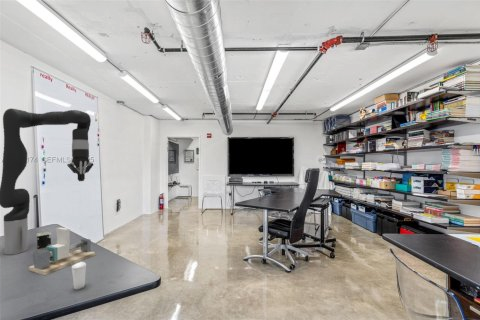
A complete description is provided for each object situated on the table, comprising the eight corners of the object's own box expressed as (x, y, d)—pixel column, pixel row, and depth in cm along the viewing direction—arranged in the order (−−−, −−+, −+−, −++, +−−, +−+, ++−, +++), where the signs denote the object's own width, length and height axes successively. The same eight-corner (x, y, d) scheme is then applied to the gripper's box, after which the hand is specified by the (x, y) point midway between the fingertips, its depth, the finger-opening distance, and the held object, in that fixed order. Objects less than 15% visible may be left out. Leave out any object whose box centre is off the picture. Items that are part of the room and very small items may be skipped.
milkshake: (74, 284, 91) (74, 258, 90) (89, 283, 91) (88, 258, 91) (66, 291, 86) (66, 263, 86) (82, 290, 86) (81, 263, 86)
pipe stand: (79, 251, 123) (79, 235, 123) (95, 255, 119) (95, 238, 119) (28, 270, 103) (28, 251, 103) (45, 275, 98) (44, 254, 98)
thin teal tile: (49, 258, 108) (49, 245, 108) (57, 260, 106) (57, 247, 106) (46, 259, 107) (46, 246, 107) (54, 261, 104) (54, 248, 104)
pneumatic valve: (37, 259, 114) (37, 235, 114) (36, 252, 123) (36, 230, 123) (52, 256, 118) (51, 232, 118) (50, 250, 127) (49, 227, 127)
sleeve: (60, 254, 113) (60, 227, 113) (70, 256, 110) (69, 228, 110) (48, 258, 108) (48, 230, 108) (58, 260, 105) (57, 231, 105)
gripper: (88, 149, 133) (88, 179, 133) (62, 148, 121) (63, 182, 121) (97, 148, 130) (97, 180, 130) (72, 147, 118) (72, 182, 118)
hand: (81, 181), depth 125 cm, fingers closed
